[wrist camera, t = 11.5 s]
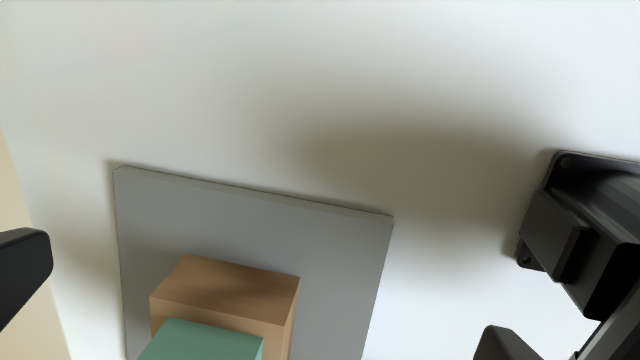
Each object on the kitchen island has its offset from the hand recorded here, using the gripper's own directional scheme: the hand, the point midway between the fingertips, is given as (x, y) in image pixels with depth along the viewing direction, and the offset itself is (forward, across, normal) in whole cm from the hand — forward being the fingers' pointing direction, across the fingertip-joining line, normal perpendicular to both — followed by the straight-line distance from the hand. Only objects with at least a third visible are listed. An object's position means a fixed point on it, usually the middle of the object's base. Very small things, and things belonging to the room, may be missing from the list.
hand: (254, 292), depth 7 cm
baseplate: (+13, +4, +12) cm, 18 cm away
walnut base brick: (+12, +4, +12) cm, 17 cm away
